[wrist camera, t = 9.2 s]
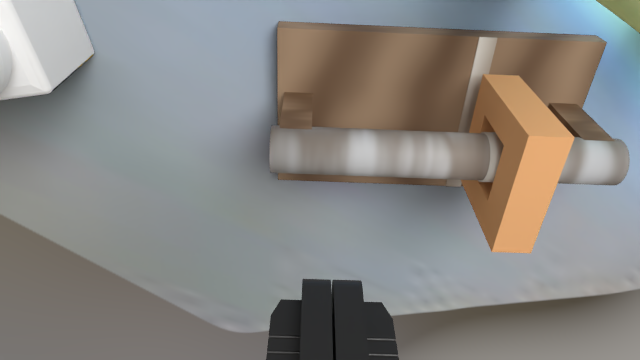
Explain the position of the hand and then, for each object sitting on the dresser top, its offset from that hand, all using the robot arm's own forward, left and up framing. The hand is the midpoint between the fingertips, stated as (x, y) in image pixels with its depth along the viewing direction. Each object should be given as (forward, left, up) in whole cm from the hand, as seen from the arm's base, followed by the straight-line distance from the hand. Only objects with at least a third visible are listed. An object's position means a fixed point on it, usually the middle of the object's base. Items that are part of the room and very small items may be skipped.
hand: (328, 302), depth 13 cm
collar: (-12, +6, -22) cm, 26 cm away
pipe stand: (-8, +6, -25) cm, 27 cm away
